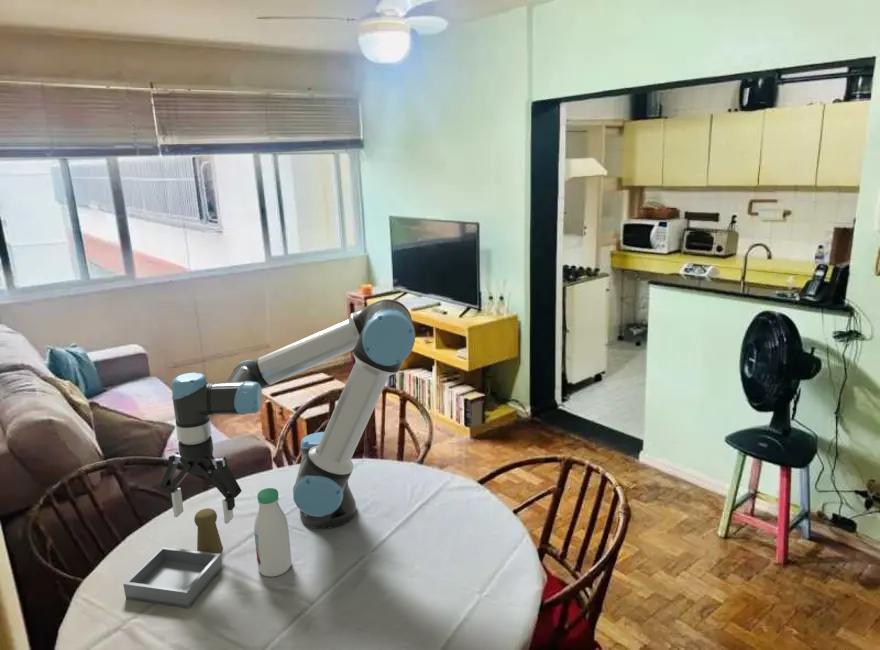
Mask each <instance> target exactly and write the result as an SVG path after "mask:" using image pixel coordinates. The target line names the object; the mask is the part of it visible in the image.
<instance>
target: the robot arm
mask: <svg viewBox="0 0 880 650" xmlns="http://www.w3.org/2000/svg"><path fill="white" fill-rule="evenodd" d="M415 342H416V330H415V327H414V323H413V319H412V315H411V313H410V310H409V309H408V308H407V307H406V306H405V305H404V304H403V303H402V302H400V301H398V300H395V299H389V298H388V299H380V300H377V301H375V302H373V303H371V304H369V305H366V306H364V307H362V308H360V309H358V310H356V311H354V312H351V313H350V315H349V318H348V319H346V320H343V321H341V322H339V323H336V324H334V325H332V326H329V327H327V328H325V329H323V330H320V331H318V332H315V333H314V334H311V335H308V336H306V337H304V338H301V339H300V340H297V341H295V342H293V343H290V344H288V345H285V346H284V347H281V348H278V349H276V350H275V351H271V352H269V353H268V354H265V355H262V356H259V357H258V358H256V359H247V360H243V361H241V362H239V364H237V365H236V367H235V368H234V369H233V370H232V373H230V376H229V377H228V379H227V381H225V382H208V380H207V377H206V375H205V374H203V373H198V372H188V373H187V372H186V373H183V374H182V373H181V374H180V375H177V376H175V378H174V379H173V380H172V382H171V390H172V391H171V395H172V396H171V399H172V403H173V404H172V405H173V411H174V417H175V418H174V419H175V428H176V429H175V430H176V436H177V437H176V438H177V440H178V442H177V444H178V451H175V452H174V453H172V454H170V455H169V456H168V464H167V467H166V470H165V472H164V475H163V478H162V480H161V483H160V486H159V487H160V489H161V490H166V491H167V492H168V495H169V497H168V498H169V502H170V503H171V504H172V509H173V517H174V518H178V517H179V516H180V515H181V514H182V513H184V505H183V503H184V502H183V495H182V489H181V487H179V486H180V484H181V483H182V482H183V480H184V479H185V478H186V476H187V475H188V474H190V475H191V476H196V475H197V476H199V477H204V478H205V479H207V480H209V481H210V482H211V484H212V485H214V487H215V488H216V489H217V490H218V491H219V493H220V494H221V495H222V496H223V498H222V508H223V519H224V524H226V525H227V524H228V525H229V523H230V522H231V521H232V520H233V519H234V511H233V509H235V507H236V501H235V498H237V497H238V496H239V495H240V494H241V493H242V489H241V486H240V485H239V483H238V481H237V479H236V478H235V476H234V474H233V473H232V471H231V469H230V467H229V466H228V461H227V457H226V456H222V457H220V458H215V457H214V454H213V453H214V444H213V435H212V426H211V425H212V423H211V416H220V415H221V416H225V415H227V416H228V415H242V416H243V415H251V414H256V413H259V412H260V410H261V409H262V404H263V391H262V389H265V388H267V387H269V386H272V385H274V384H275V383H278V382H280V381H283V380H285V379H287V378H290V377H293V376H294V375H297V374H299V373H303V372H305V371H306V370H309V369H311V368H314V367H316V366H318V365H321V364H323V363H325V362H328V361H330V360H332V359H334V358H337V357H340V356H342V355H343V354H346V353H349V352H350V351H352V355H353V357H354V360H355V362H354V363H353V366H352V369H351V372H350V373H349V375H348V378H347V381H346V383H345V384H344V387H343V388H342V391H341V394H340V396H339V398H338V400H337V403H336V404H335V407H334V409H333V411H332V414H331V416H330V419H329V421H328V423H327V425H326V426H325V427H326V428H325V430H324V431H319V432H314V433H311V434H307V435H306V436H304V437H303V438H302V439H301V441H300V447H299V448H300V449H301V459H300V460H301V462H300V464H299V468H298V472H297V476H296V479H295V480H296V481H295V484H294V485H293V488H292V490H293V491H292V494H293V495H292V496H293V501H294V504H295V505H296V507H297V509H298V510H299V517H300V521H301V522H302V523H303V524H304V525H306V526H307V527H310V528H313V529H320V530H322V529H323V530H324V529H333V528H337V527H340V526H342V524H343V525H344V523H345V524H346V522H347V523H348V522H350V521H351V520H352V519H353V518H354V517H355V516H356V513H357V505H356V500H355V498H354V495H353V493H352V491H351V488H350V486H349V479H350V477H351V475H352V473H353V470H354V463H353V461H352V459H353V458H352V457H353V456H354V453H355V451H356V448H357V447H358V445H359V442H360V441H361V439H362V436H363V434H364V431H365V429H366V427H367V426H368V423H369V420H370V418H371V416H372V414H373V412H374V410H375V408H376V405H377V404H378V401H379V399H380V398H381V397H380V396H381V395H382V392H383V391H384V388H385V386H386V384H387V382H388V380H389V377H390V376H393V375H395V374H398V373H399V371H400V369H401V366H402V365H403V363H404V361H405V360H406V359H407V358H408V357H409V355H410V354H411V352H412V351H413V348H414V346H415ZM179 463H180V464H181V465H182V466H183V468H182V469H181V471H180V472H179V473H178V475H177V476H176V477H175V479H174V480H173V478H174V476H175V474H176V471H177V469H178V466H179ZM210 471H211V472H210ZM353 516H354V517H353ZM350 519H351V520H350ZM349 520H350V521H349ZM339 525H340V526H339ZM336 526H337V527H336Z"/></svg>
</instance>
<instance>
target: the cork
mask: <svg viewBox="0 0 880 650" xmlns="http://www.w3.org/2000/svg"><path fill="white" fill-rule="evenodd" d="M217 519H218V514H217V512H216V511H215V509H213V508H203V509H200V510H198V511H197V512H196V514H195V515H194V519H193V520H194V524H195V526H197V535H196V536H197V540H196V541H197V543H196V544H197V545H196V546H197V547H196V551H202V552H210V553H218V554H221V553H222V552H223V550H224V547H223V544H222V540H221V538H220V534H219V530H218V527H217Z"/></svg>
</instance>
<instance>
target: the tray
mask: <svg viewBox="0 0 880 650" xmlns="http://www.w3.org/2000/svg"><path fill="white" fill-rule="evenodd" d="M222 570H223V560H222V554H221V553H219V554H218V553H210V552H202V551H197V550H191V549H186V548H177V547H168V546H161V547H160V548H159V549H158V550H157V551H156V552H155V553H154V554H153V555H152V556H151V557H149V559H148V560H146V561H145V562H144V564H142V565H141V566H140V567H139V568H138V569H136V571H135V572H134V573H133V574H132V575H130V577H129V578H128V579H126V581H124V583H123V590H124V591H123V592H124V595H125V600H128V601H135V602H136V601H137V602H143V603H149V604H150V603H151V604H156V605H157V604H158V605H164V606H169V607H170V606H171V607H176V608H183V609H185V608H186V609H190V608H191V607H192V606H193V605H194V603H195V602H196V601H197V600H198V598H200V596H201V595H202V593H204V591H205V590H206V589H207V588H208V586H210V584H211V582H213V581H214V579H216V577H217V576H218V574H219V573H220V572H221V571H222Z"/></svg>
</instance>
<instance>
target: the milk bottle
mask: <svg viewBox="0 0 880 650" xmlns="http://www.w3.org/2000/svg"><path fill="white" fill-rule="evenodd" d="M279 500H280V499H279V491H278V490H277V489H276V488H273V487H269V488H263V489H262V490H261V489H260V491H259V492H257V503H258V505H259V507H258V511H257V514H256V516H255V520H254V525H253V526H254V527H253V528H254V529H253V531H254V541H255V543H254V544H255V553H256V560H257V561H256V562H257V569H258V571H259V573H260V575H262V576H264V577H269V578H272V577H278V576H280V575H281V576H282V575H283V574H285V573H287V572H288V570H289V569H291V566H292V554H291V552H292V551H291V543H290V542H291V541H290V532H289V524H288V520H287V516H286V513H284V511H283V509H282V508H281V506H280V504H279Z"/></svg>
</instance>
